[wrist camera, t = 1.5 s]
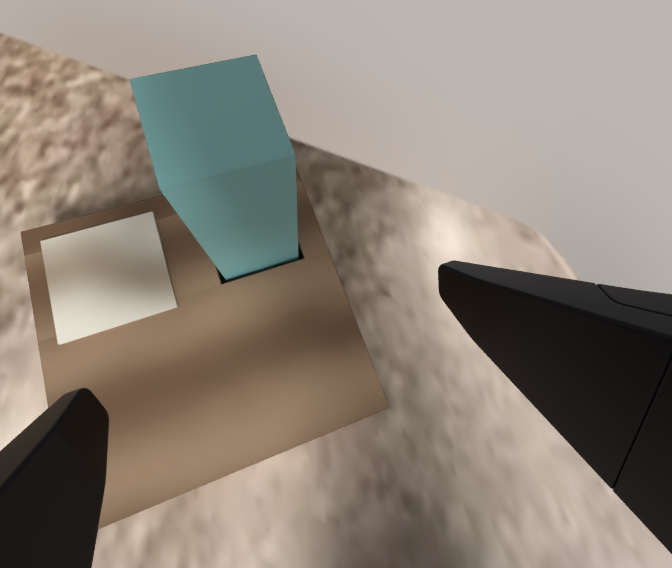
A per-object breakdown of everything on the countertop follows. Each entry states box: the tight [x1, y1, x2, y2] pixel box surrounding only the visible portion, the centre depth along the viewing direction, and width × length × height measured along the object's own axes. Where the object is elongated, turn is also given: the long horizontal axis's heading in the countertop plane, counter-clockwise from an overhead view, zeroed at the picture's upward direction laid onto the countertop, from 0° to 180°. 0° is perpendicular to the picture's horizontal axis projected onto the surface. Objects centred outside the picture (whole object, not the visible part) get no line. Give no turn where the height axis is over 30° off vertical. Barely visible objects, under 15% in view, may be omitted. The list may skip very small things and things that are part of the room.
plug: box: [130, 55, 299, 282], centre depth 17 cm, size 4×4×12 cm
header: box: [21, 168, 389, 529], centre depth 20 cm, size 16×16×3 cm
